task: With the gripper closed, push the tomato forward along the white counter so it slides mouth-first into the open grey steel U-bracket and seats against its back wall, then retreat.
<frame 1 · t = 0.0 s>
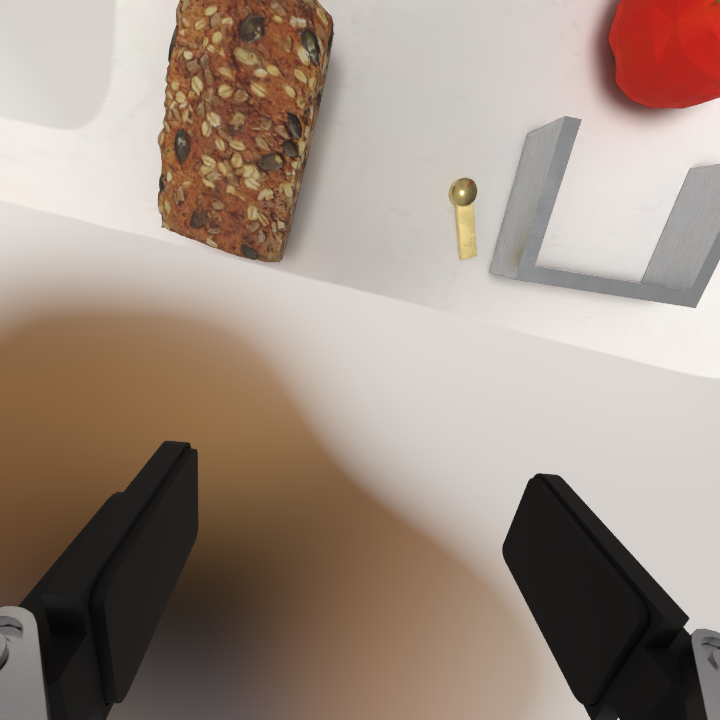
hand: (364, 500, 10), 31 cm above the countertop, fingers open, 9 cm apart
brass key: (463, 228, 37), on the countertop
bracket: (595, 215, 38), on the countertop
tomato: (657, 39, 32), on the countertop
bread: (257, 147, 33), on the countertop
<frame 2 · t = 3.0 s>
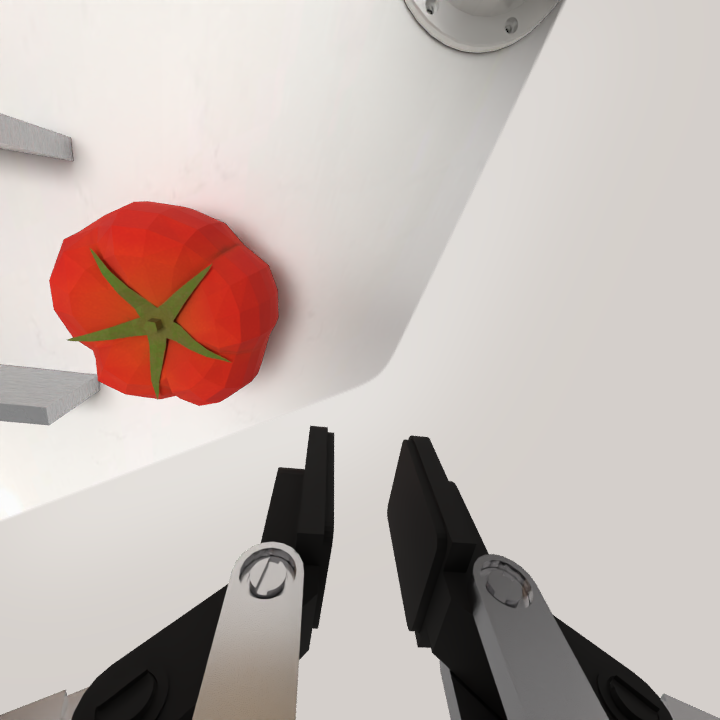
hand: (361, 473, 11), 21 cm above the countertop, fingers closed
bracket: (4, 268, 27), on the countertop
tomato: (209, 295, 29), on the countertop
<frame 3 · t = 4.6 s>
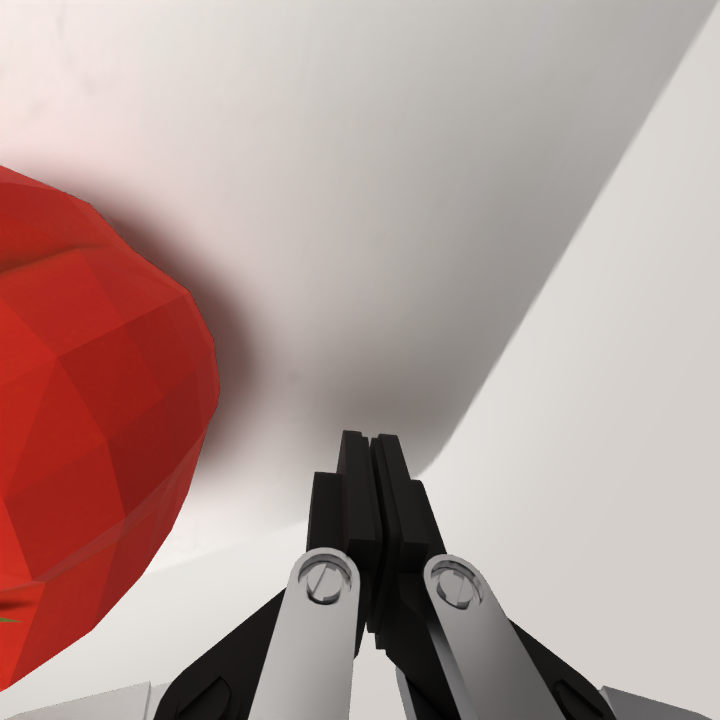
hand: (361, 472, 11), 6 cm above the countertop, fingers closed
tomato: (93, 343, 15), on the countertop
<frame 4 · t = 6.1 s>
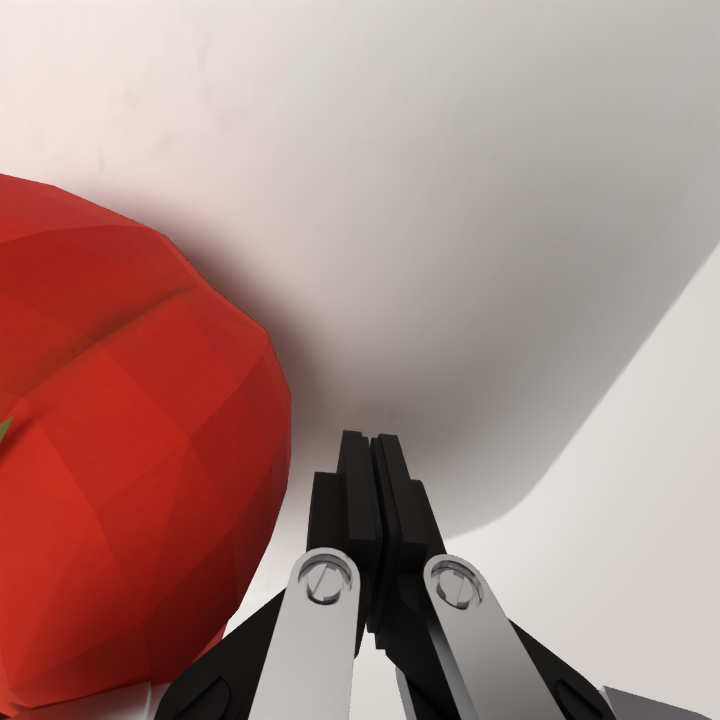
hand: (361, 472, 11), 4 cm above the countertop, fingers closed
tomato: (143, 376, 14), on the countertop, touching gripper
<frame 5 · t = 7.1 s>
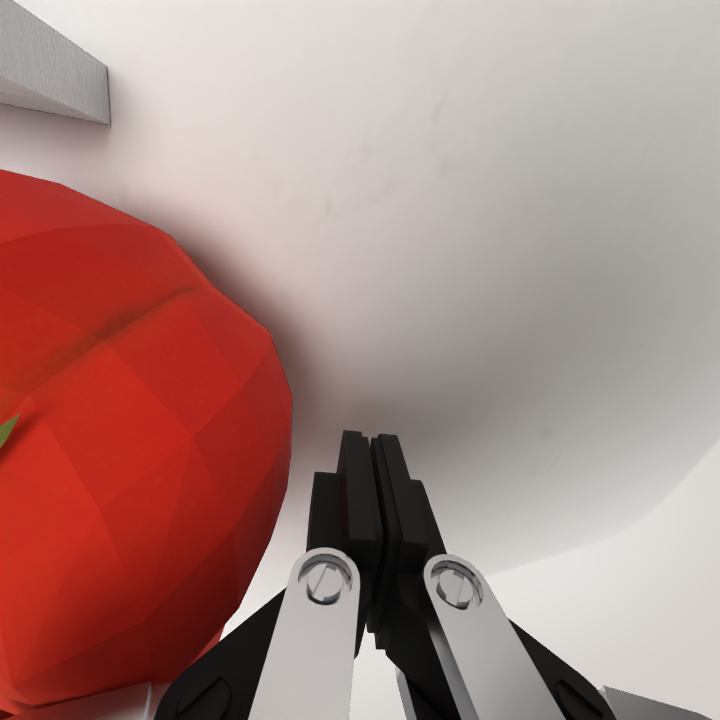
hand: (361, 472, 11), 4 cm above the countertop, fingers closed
tomato: (144, 374, 14), on the countertop, touching gripper
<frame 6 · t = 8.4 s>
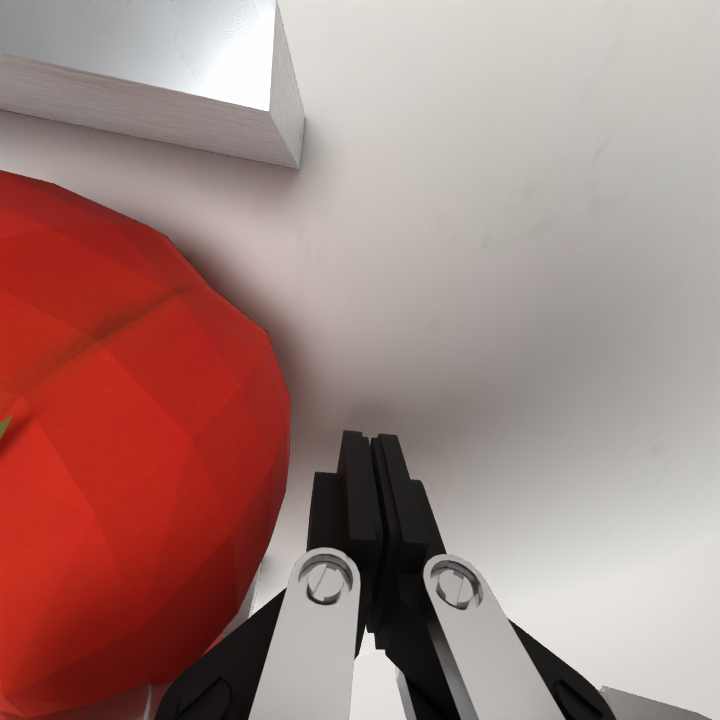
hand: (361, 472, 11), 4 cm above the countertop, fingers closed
bracket: (121, 381, 13), on the countertop
tomato: (139, 377, 14), on the countertop, touching bracket, gripper
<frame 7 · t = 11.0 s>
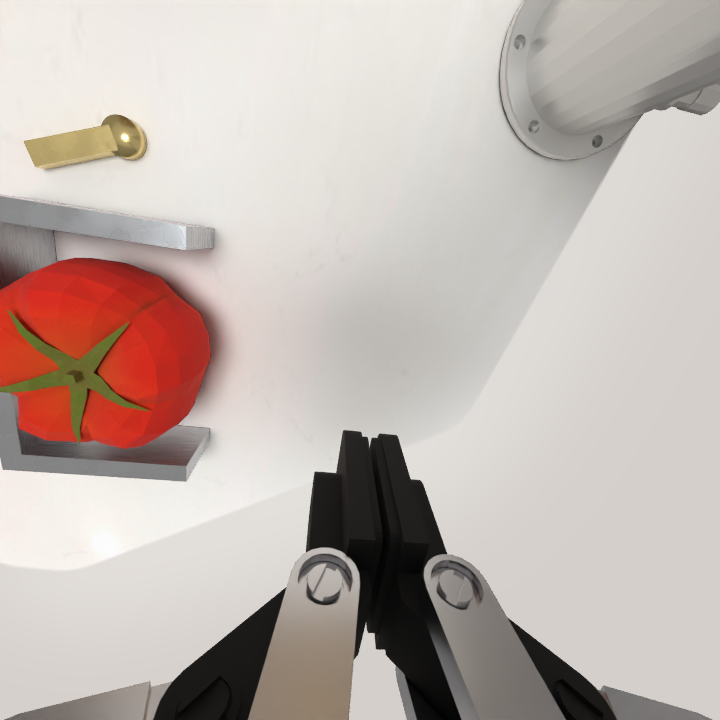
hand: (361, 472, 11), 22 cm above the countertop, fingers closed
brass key: (80, 149, 25), on the countertop
bracket: (140, 337, 30), on the countertop
tomato: (148, 335, 31), on the countertop
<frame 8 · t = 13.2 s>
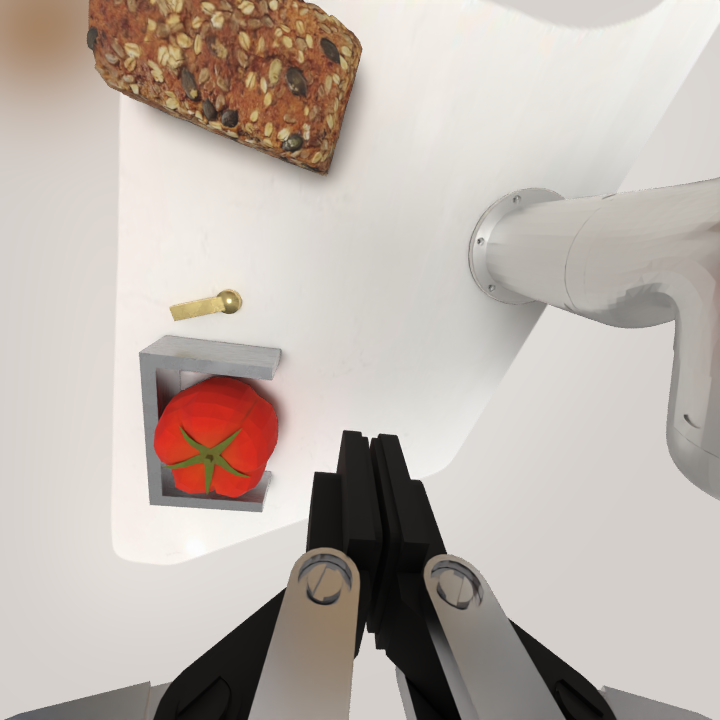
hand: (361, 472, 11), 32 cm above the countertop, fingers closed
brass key: (200, 306, 40), on the countertop
bracket: (228, 415, 45), on the countertop
tomato: (234, 413, 46), on the countertop, touching bracket
bread: (253, 91, 34), on the countertop
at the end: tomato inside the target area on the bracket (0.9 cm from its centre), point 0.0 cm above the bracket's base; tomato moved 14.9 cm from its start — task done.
